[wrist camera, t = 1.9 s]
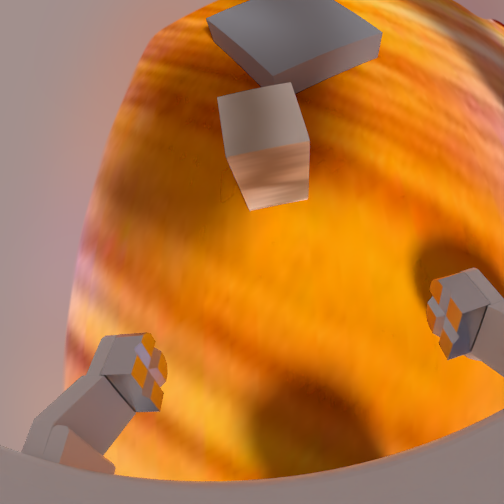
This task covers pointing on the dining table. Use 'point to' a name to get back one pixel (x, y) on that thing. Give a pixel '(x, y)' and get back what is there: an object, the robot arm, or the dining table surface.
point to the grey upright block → (266, 145)
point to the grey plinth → (294, 40)
